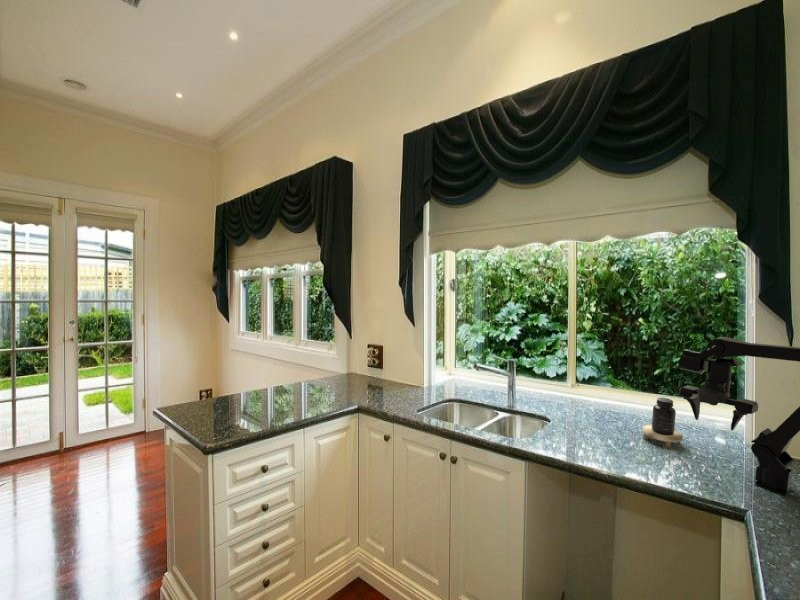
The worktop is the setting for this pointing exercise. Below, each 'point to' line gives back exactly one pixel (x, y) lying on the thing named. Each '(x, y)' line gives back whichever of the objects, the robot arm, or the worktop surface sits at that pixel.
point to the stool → (662, 436)
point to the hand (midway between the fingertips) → (713, 424)
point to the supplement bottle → (663, 417)
